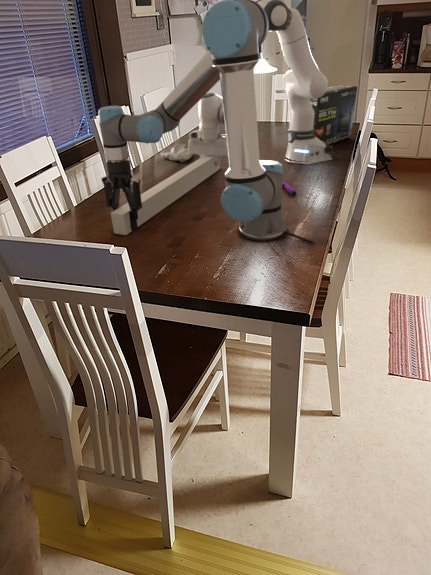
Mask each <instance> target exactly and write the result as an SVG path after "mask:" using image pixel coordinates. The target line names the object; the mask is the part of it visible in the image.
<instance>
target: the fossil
mask: <svg viewBox="0 0 431 575" xmlns="http://www.w3.org/2000/svg"><path fill="white" fill-rule="evenodd" d="M194 155H195V154H190V153H189V150H188V145H186V143H184V142H183V143H181V142H176V143H175V145H174V146H173V147H172V148H171V149H170V150H168V149H165V150H162V151H161V152H160V156H161V158H162V159H163V160H169V161H174V162H177V161H179V162H180V163H185V162H187V161H188V160H190V159H191V158H192V157H193V156H194Z"/></svg>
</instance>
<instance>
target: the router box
mask: <svg viewBox="0 0 431 575" xmlns="http://www.w3.org/2000/svg"><path fill="white" fill-rule="evenodd" d="M357 93H358V86H356V85H350V84H339V85H338V84H337V85H334V86H327V90H326V92H325V94H324V95H323V96H322V97H320V98H316V99H310V103H311V106H312V108H313V109H314V127H313V128H314V129H315V130H320V131H321V134H320V135H317V134H316V137H317V138H318V139H320V140H321V141H322V142H323V143H324V144H325V143H328V142H331V141H333V140H336V139H338V138H341V137H344V136H347V135H351V136H352V133H353V132H352V131H353V125H354V115H355V109H356V99H357Z"/></svg>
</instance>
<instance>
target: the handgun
mask: <svg viewBox="0 0 431 575" xmlns="http://www.w3.org/2000/svg"><path fill="white" fill-rule="evenodd" d="M282 188H284V189H286V191H287V192H288V193H289V194H290V195H291V196H292V197H295V196H296V195H297V192H296V190H294V189H293V187H292V186H291V185H290V184H288V183H287V182H286V181H285V180H284V179H283V182H282Z"/></svg>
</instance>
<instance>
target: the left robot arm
mask: <svg viewBox="0 0 431 575" xmlns="http://www.w3.org/2000/svg"><path fill="white" fill-rule="evenodd" d="M268 28H269V23H268V17H267V14H266V12H265V10H264V9H263V8H262V6H261V5H260V4H258V3H257V2H256V1H254V0H220V1H218V2H216V3H214V4H213V5H212V6H211V7H210V8H209V9H208V10H207V12H206V13H205V15H204V17H203V19H202V23H201V39H202V43H203V45H204V47H205V49H206V50H207V52H206V53H205V54H203V57H201V59H200V60H199V61H198V62H196V64H195V65H194V66H193V68H191V70H189V72H187V74H186V75H185V77H183V78H182V79H181V80H180V82H179V83H178V84H177V85H176V86H175V87H174V89H173V90H171V91H170V93H169V94H168V95H167V96H166V97H165V98H164V99H163V100H162V102H161V103H160V104H158V106H157V107H156V108H155V109H152V110H150V111H146V112H144V113H140V114H125V112H124V108H123V107H122V106H121V105H106V106H103V107H100V108H99V109H98V112H97V114H98V125H99V128H100V129H99V130H100V135H101V138H102V145H103V154H104V159H105V160H106V161H105V166H106V172H107V173H108V175H105V176H103V177H101V179H100V180H101V182H102V184H103V190H104V193H105V194H104V195H105V202H106V205H107V207H108V208H111V209H112V212H113V211H115V210H116V209H118V208H120V207H121V204H120V196H121V190H122V192H123V193H124V196H125V198H126V201H127V203H128V204H129V207H130V210H131V211H130V212H129V217H130V224H131V230H133V231H135V230H136V229H138V228H139V227H138V226H137V219H138V213H137V211H138V210H139V209H141V208H142V202H141V194H142V193H141V187H140V186H141V179H140V178H139V179H136V178H134V177H133V174H132V173H131V172H132V164H131V159H130V151H129V150H130V149H129V143H128V142H134V143H143V144H157V143H159V142H160V140H161V138H162V137H163V135H164V134H166V133H170V132H172V131H173V130H175V129H176V128H177V127H179V125H180V122H181V120H182V119H183V118H184V117H185V116H186V115H187V113H189V111H190V110H192V109H193V108H194V106H196V104H198V103H199V100H200V99H201V98H202V97H203V96H204V95H205V94H208V93H209V92H210V91H211V89H213V87H214V86H215V85H217V84H218V82H219V81H220V90H221V91H220V92H221V97H222V102H223V112H224V122H225V126H224V130H225V132H224V133H225V135H226V141H227V151H228V157H227V162H228V168H227V169H226V170H225V171H224V184H225V188H224V189H223V191H222V193H221V196H220V205H221V208H222V210H223V212H224V213H225V215H227V216H228V217H229V218H230V219H232V220H233V221H235V222H239V225H238V232H239V235H240V236H241V237H242V238H244V239H247V240H250V241H254V242H271V241H277V240H279V239H281V238H283V237H285V235H287V236H289V237H293V238H296V239H298V240H300V241H303V242H306V243H310V244H313V243H314V240H312V239H307V238H305V237H302V236H300V235H298V234H295V233H291V232H289V231H287V223H286V221H285V216H284V214H283V210H282V200H283V187H282V182H283V180H284V168H283V167H284V166H283V164H282V163H281V162H279V161H276V160H270V159H260V144H259V142H260V141H259V129H258V115H257V101H256V100H257V99H256V87H255V86H256V84H255V70H254V69H255V66H256V65H257V64H258V63H259V61H260V55H259V52H260V51H259V48H260V47H261V46H262V45H263V44H264V42H265V40H266V38H267V36H268V32H269V31H268Z"/></svg>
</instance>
